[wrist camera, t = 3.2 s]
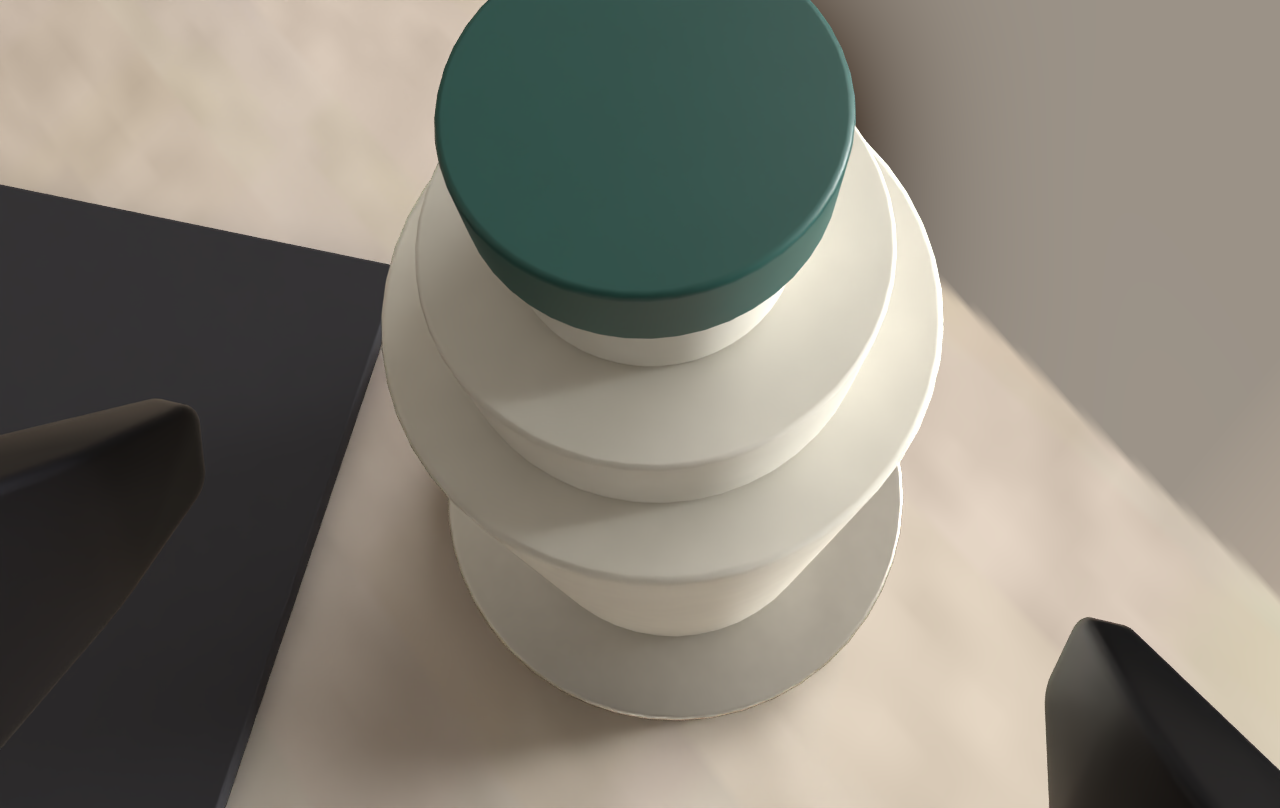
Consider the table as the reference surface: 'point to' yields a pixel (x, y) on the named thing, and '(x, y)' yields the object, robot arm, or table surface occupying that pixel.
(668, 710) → the off-white round coaster
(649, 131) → the bottle
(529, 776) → the table surface
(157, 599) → the felt mat
